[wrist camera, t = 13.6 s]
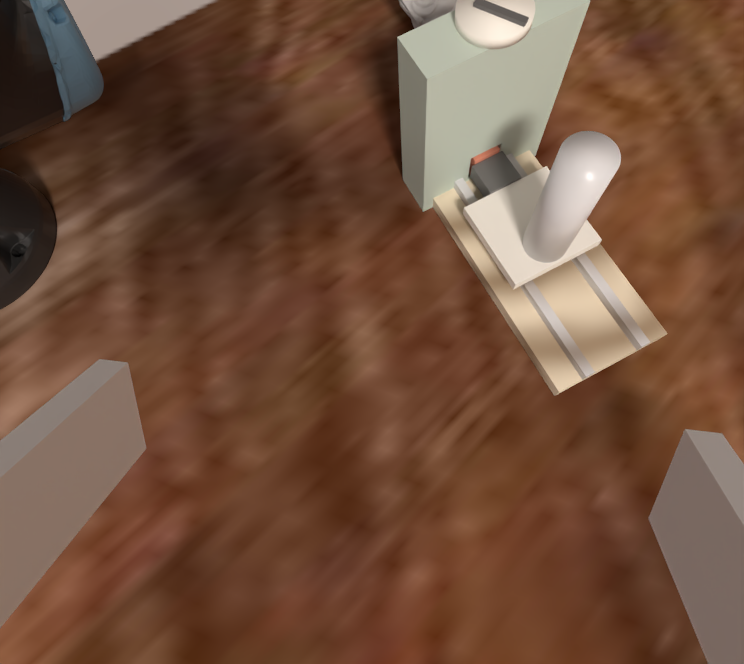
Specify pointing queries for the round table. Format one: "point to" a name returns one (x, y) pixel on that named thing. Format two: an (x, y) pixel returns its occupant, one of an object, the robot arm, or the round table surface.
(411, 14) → the grey round lump
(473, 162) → the block
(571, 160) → the carriage
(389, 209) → the round table surface
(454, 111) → the gauge cabinet
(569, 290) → the rail track
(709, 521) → the robot arm
